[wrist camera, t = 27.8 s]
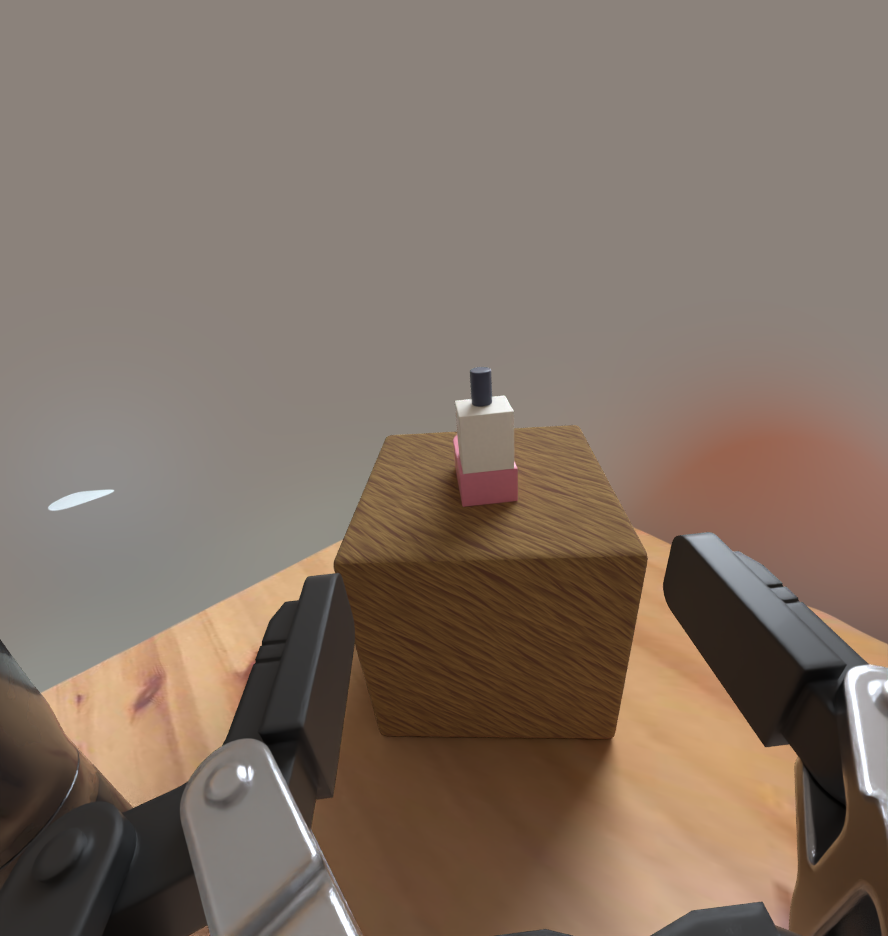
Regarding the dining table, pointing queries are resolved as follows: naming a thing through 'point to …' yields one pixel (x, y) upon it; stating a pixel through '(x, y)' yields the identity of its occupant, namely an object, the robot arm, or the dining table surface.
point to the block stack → (485, 445)
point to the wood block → (493, 592)
